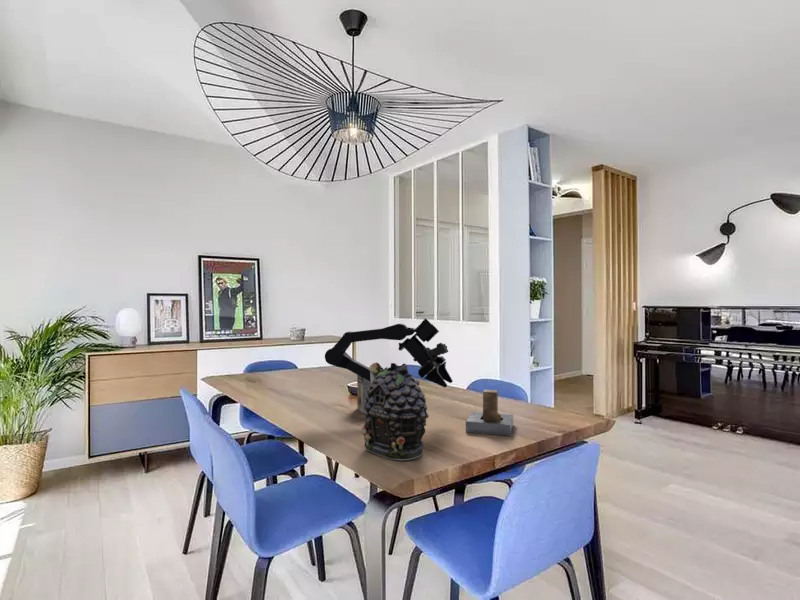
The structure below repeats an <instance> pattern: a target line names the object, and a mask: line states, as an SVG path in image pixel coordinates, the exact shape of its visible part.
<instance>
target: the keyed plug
mask: <svg viewBox="0 0 800 600" xmlns="http://www.w3.org/2000/svg"><path fill="white" fill-rule="evenodd" d="M498 395H499V393H498V390H497V389H486V388H485V389H483V391H482V413H483V420H493V421H499V420H501V414H502V413H499V411H498V410H499V409H498V408H499V405H498V404H499V401H498V399H499V397H498Z"/></svg>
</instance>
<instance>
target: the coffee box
mask: <svg viewBox="0 0 800 600" xmlns="http://www.w3.org/2000/svg"><path fill="white" fill-rule="evenodd" d="M356 375H357V374H356ZM356 381H357V391H356V393H357V394H356V395H357V396H356V397H357V401H356V402H357V403H356V405H357V407H356V408H357V410H358V411H359V410H360V411H361V412H362V413H361V412H360V411H359V412H360V413H361V414H365V410H364V406H365V399H366V396H367V389H368V388H369V387H370V383H371V382H370V381H368V380H366V379H364V378H362V377H361V376H359V375H357V379H356Z"/></svg>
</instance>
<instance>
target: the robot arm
mask: <svg viewBox="0 0 800 600" xmlns="http://www.w3.org/2000/svg"><path fill="white" fill-rule="evenodd" d="M439 332H440V331H439V329H438V328H436V326H435V325H434V323H431V322H430V321H429V320H428V319H427V318H424V319H423V320H421V323H420V324H418V326H417V327H415V328H414V327H408V326H407V325H406V324H405V323H401V322H400V323H395V324H392V325H389V326H386V327H383V328H375V329H367V330H357V331H346V332H345V333H343V335H342V336H341V338H339V340H338V341H337V342H336V343H335V345H334V346H333V347H332V348H329V349H328V350H326V351H325V354H324V359H325V363H327V364H328V365H331V366H333V367H336V368H341V369H345V370H348V371H350V372H352V373H353V374H355V375H359V376H361V377H362V378H364V379H366V380H368V381H370V382H371V380H370V370H369V367H370V366H369V367H368V366H367V365H365V364H363V363H361V362H359V361H357V360H355V359H354V358H352V357H351V356H350V355H349V354H348V353H347V352H346V351H347V350H348V349H349V347H350V346H351V344H352V343H357V342H366V341H374V340H375V341H376V340H390V341H391V340H392V341H402V340H404V341H402V342H398V351H403V350H406V351H407V353H409V355H410V356H411V357H412V358H413V359H412V360H413V361H414V362H417V364H418V365H419V366H420V368H419V369H418V370H417V374H418V376H420V378H421V379H424V380H427V381H429V382H431V383H434V384H436V385H439V386H440V387H443V388H447V387H448V384H447V383H449V384H452V383H453V382H454V381H453V378H452V377H451V375H450V373H449V372H448V370H447V368H446V364H447V361H446V358H445V357H444V356H442V355H445V354H447V353H449V350H448V346H447V345H446V343H442V342H439V343H436V347H433V348H430V347H429V346H428V347H426V346H425V345H424V344H423V343H425V342H427V343H429V342H430V341H431V340H432V339H433V338H434V337H435V336H436V335H437V334H439ZM407 336H408V337H407ZM410 336H411V337H410ZM409 337H410V338H409ZM421 341H422V342H423V343H422V342H421ZM446 382H447V383H446Z"/></svg>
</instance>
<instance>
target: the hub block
mask: <svg viewBox="0 0 800 600" xmlns="http://www.w3.org/2000/svg"><path fill="white" fill-rule="evenodd" d="M500 414H501V420H499V421H493V420H483V411H482V412H480V411H472V412H471V413H470V414H469V416H468V417H467V419H466V421H465V433H469V432H472V433H471V434H480V433H485V434H484V435H491V434H495V435H494V436H502V435H506V437H511V434H512V432H513V428H514V414H506V413H500Z"/></svg>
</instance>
